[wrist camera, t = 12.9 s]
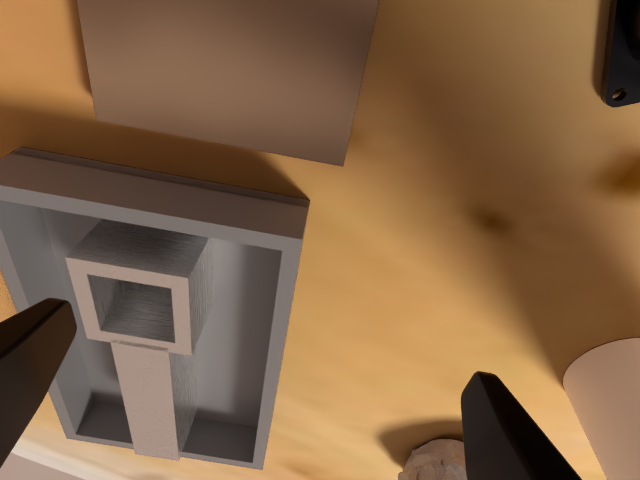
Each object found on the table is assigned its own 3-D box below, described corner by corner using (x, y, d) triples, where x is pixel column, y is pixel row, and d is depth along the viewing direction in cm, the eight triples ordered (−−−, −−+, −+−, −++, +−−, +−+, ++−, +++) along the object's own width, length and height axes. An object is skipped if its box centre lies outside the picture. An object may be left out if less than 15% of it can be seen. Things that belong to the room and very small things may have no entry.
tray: (270, 425, 33) (262, 470, 30) (92, 396, 33) (66, 438, 30) (310, 200, 21) (302, 239, 18) (20, 146, 20) (-36, 178, 17)
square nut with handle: (213, 409, 31) (196, 463, 28) (143, 398, 31) (117, 451, 28) (214, 228, 21) (188, 278, 18) (110, 209, 21) (65, 257, 18)
